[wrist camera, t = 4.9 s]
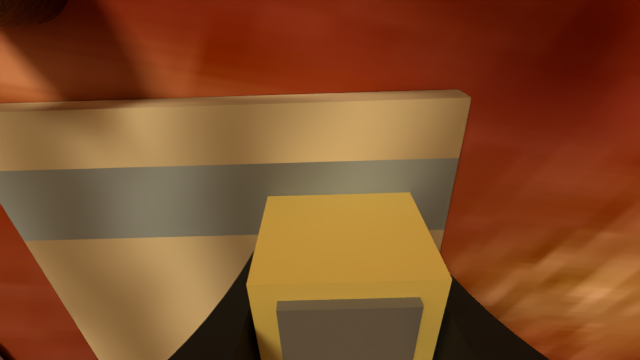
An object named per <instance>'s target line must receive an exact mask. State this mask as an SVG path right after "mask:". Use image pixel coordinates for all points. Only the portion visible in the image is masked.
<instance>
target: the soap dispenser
mask: <svg viewBox="0 0 640 360" xmlns="http://www.w3.org/2000/svg"><path fill="white" fill-rule="evenodd" d="M66 3H67V0H0V27H10V26H21V25H32V24H41V23H44V22H47V21H49V20H51V19H53V18H55V17H56V16H57V15H58V14H59V13H60V12H61V11H62V10H63V8H64V7H65V5H66Z"/></svg>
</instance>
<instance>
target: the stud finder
mask: <svg viewBox="0 0 640 360" xmlns="http://www.w3.org/2000/svg"><path fill="white" fill-rule="evenodd" d="M451 282H452V278H451V276H450V274H449V272H448V270H447V268H446V265H445V263H444V261H443V259H442V257H441V255H440V253H439V251H438V249H437V247H436V245H435V243H434V241H433V239H432V237H431V235H430V233H429V231H428V228H427V226H426V224H425V222H424V220H423V218H422V216H421V214H420V212H419V210H418V208H417V206H416V204H415V202H414V200H413V198H412V196H411V194H410V192H403V193H368V194H332V195H296V196H268V197H267V201H266V206H265V210H264V214H263V218H262V222H261V226H260V230H259V234H258V239H257V243H256V247H255V251H254V255H253V259H252V263H251V267H250V271H249V276H248V280H247V284H246V286H247V291H248V296H249V301H250V306H251V311H252V317H253V322H254V327H255V332H256V337H257V342H258V347H259V352H260V357H261V360H432V358H433V354H434V350H435V346H436V342H437V338H438V334H439V330H440V326H441V322H442V318H443V314H444V310H445V306H446V302H447V298H448V294H449V290H450V286H451Z"/></svg>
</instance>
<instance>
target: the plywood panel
mask: <svg viewBox="0 0 640 360" xmlns="http://www.w3.org/2000/svg"><path fill="white" fill-rule="evenodd" d="M470 102H471V97H470V96H468V95H466V94H465V93H463V92H462V91H460V90H426V91H394V92H361V93H328V94H296V95H263V96H231V97H198V98H165V99H133V100H100V101H67V102H35V103H2V104H0V203H1V205H2V207H3V208H4V210H5V211H6V213H7V214H8V216H9V218H10V219H11V221H12V222H13V224H14V226H15V227H16V229H17V230H18V232H19V234H20V235H21V237H22V238H23V240H24V242H25V243H26V245H27V246H28V248H29V250H30V251H31V253H32V254H33V256H34V257H35V259H36V261H37V262H38V264H39V265H40V267H41V269H42V270H43V272H44V273H45V275H46V277H47V278H48V280H49V281H50V283H51V285H52V286H53V288H54V289H55V291H56V293H57V294H58V296H59V297H60V299H61V301H62V302H63V304H64V305H65V307H66V308H67V310H68V312H69V313H70V315H71V316H72V318H73V320H74V321H75V323H76V324H77V326H78V328H79V329H80V331H81V332H82V334H83V336H84V337H85V339H86V340H87V342H88V344H89V345H90V347H91V348H92V350H93V352H94V353H95V355H96V356H97V358H98V359H99V360H168V359H169V358H170V357H171V356H172V355H173V354H174V353H175V352H176V351H177V350H178V349H179V348H180V347H181V346H182V345H183V344H184V343H185V342H186V341H187V339H188V338H189V337H190V336H191V335H192V334H193V333H194V332H195V331H196V330H197V329H198V327H199V326H200V325H201V324H202V323H203V322H204V320H205V319H206V318H207V317H208V316H209V314H210V313H211V312H212V311H213V309H214V308H215V307H216V306H217V304H218V303H219V302H220V300H221V299H222V298H223V297H224V295H225V294H226V293H227V291H228V290H229V288H230V287H231V285H232V284H233V283H234V281H235V280H236V278H237V277H238V275H239V274H240V272H241V271H242V269H243V268H244V266H245V264H246V263H247V261H248V259H249V258H250V256H251V254H252V253H253V251H254V250H255V247H256V243H257V239H258V234H259V230H260V226H261V222H262V218H263V214H264V210H265V206H266V201H267V197H268V196H296V195H332V194H368V193H403V192H410V194H411V196H412V198H413V200H414V202H415V204H416V206H417V208H418V210H419V212H420V214H421V216H422V218H423V220H424V222H425V224H426V226H427V228H428V231H429V233H430V235H431V237H432V239H433V241H434V243H435V245H436V247H437V249H438V251H439V253H440V248H441V243H442V238H443V233H444V229H445V224H446V219H447V214H448V209H449V204H450V199H451V195H452V190H453V185H454V180H455V175H456V170H457V165H458V161H459V156H460V151H461V146H462V141H463V136H464V131H465V127H466V122H467V117H468V112H469V107H470Z"/></svg>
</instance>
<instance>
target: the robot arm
mask: <svg viewBox="0 0 640 360" xmlns="http://www.w3.org/2000/svg"><path fill="white" fill-rule="evenodd" d="M254 251H255V250H254ZM254 251H253V253H252V254H251V256H250V258H249V259H248V261H247V263H246V264H245V266H244V268H243V269H242V271H241V272H240V274H239V275H238V277H237V278H236V280H235V281H234V283H233V284H232V285H231V287H230V288H229V290H228V291H227V293H226V294H225V295H224V297H223V298H222V299H221V300H220V302H219V303H218V304H217V306H216V307H215V308H214V309H213V311H212V312H211V313H210V314H209V316H208V317H207V318H206V319H205V320H204V322H203V323H202V324H201V325H200V326H199V327H198V329H197V330H196V331H195V332H194V333H193V334H192V335H191V336H190V337H189V338H188V339H187V341H186V342H185V343H184V344H183V345H182V346H181V347H180V348H179V349H178V350H177V351H176V352H175V353H174V354H173V355H172V356H171V357H170V358H169V359H168V360H261V357H260V352H259V347H258V342H257V337H256V332H255V327H254V322H253V317H252V311H251V306H250V301H249V296H248V291H247V286H246V284H247V280H248V276H249V271H250V267H251V263H252V259H253V255H254ZM449 274H450V273H449ZM450 276H451V278H452V282H451V286H450V290H449V294H448V298H447V302H446V306H445V310H444V314H443V318H442V322H441V326H440V330H439V334H438V338H437V342H436V346H435V350H434V354H433V358H432V360H549V359H548V358H547V357H545V356H544V355H542V354H541V353H540V352H538V351H537V350H535V349H534V348H533V347H531V346H530V345H529V344H527V343H526V342H525V341H523V340H522V339H521V338H519V337H518V336H517V335H516V334H514V333H513V332H512V331H511V330H509V329H508V328H507V327H506V326H505V325H503V324H502V323H501V322H500V321H498V320H497V319H496V318H495V317H494V316H493V315H492V314H490V313H489V312H488V311H487V310H486V309H485V308H484V307H483V306H482V305H481V304H480V303H479V302H477V301H476V300H475V299H474V298H473V297H472V296H471V295H470V294H469V293H468V292H467V291H466V290H465V289H464V288H463V287H462V286H461V285H460V284H459V283H458V282H457V280H456V279H455V278H454V277H453V276H452V275H451V274H450ZM0 360H4V359H3V358H2V357H1V356H0Z"/></svg>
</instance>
